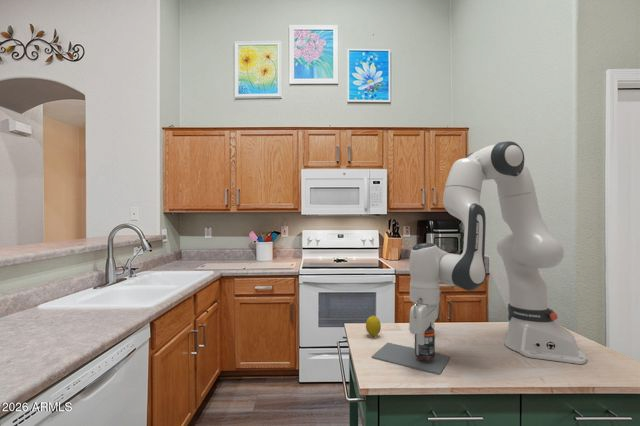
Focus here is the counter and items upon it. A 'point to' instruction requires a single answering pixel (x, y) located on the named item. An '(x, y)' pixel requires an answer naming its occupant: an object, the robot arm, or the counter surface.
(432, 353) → the supplement bottle
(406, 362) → the mat
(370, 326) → the lemon
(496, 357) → the counter surface
